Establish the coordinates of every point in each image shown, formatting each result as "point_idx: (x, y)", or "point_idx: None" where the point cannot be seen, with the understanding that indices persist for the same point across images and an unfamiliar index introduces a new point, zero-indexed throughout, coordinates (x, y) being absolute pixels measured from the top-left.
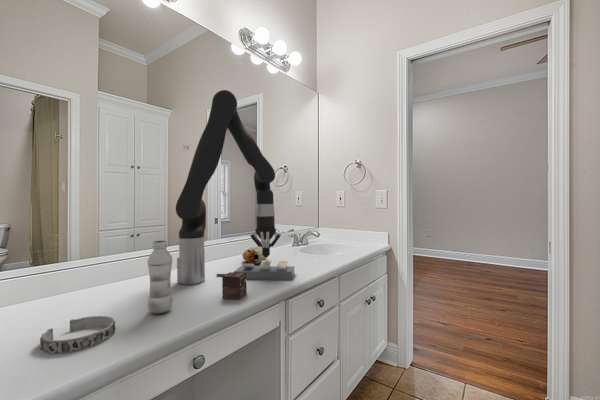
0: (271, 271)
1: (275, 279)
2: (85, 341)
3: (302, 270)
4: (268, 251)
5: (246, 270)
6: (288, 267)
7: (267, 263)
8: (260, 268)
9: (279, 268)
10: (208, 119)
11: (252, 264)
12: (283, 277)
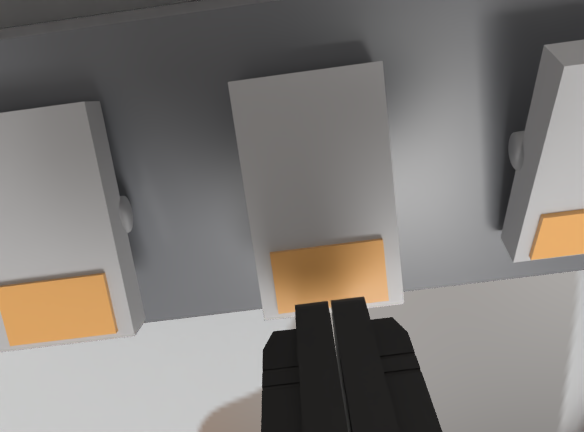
0: (156, 29)
1: (121, 12)
2: None
3: (12, 409)
4: (277, 399)
5: (581, 26)
6: None
7: (284, 223)
8: (356, 64)
9: (40, 107)
10: None
11: (531, 169)
12: (3, 30)
